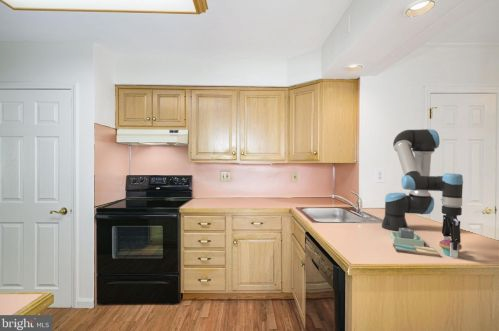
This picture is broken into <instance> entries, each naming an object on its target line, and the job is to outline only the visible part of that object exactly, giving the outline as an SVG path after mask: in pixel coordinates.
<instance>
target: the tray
mask: <svg viewBox="0 0 499 331" xmlns="http://www.w3.org/2000/svg"><path fill="white" fill-rule="evenodd" d="M389 233H390V234H389V236H390V239H391V240H392V243H395V244H404V245H414V246H423V247H425V241H424V240H423V238H421V236H420V235H419V234H418V233H414V239H405V238H399V231H394V230H390V231H389Z"/></svg>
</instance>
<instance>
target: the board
mask: <svg viewBox="0 0 499 331" xmlns="http://www.w3.org/2000/svg"><path fill="white" fill-rule="evenodd" d="M392 247H393V249H394V250H395V252H396V253H401V254H402V253H403V254H412V255H419V256H426V257H428V256H429V257H433V258H434V257H435V258H441V254H440V253H439V252H438V251H437V250H436V249H435V248H434V247H429V246H424V247H423V246H414V245H404V244H395V243H394V242H392Z"/></svg>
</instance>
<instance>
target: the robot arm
mask: <svg viewBox="0 0 499 331" xmlns="http://www.w3.org/2000/svg"><path fill="white" fill-rule="evenodd" d="M440 141H441V140H440V136H439V133H438V132H437V131H436V130H435V129H429V128H426V129H424V128H423V129H405V130H402V131H400V132H399V133H398V134H397V135H396V136H395V137H394V140H393V143H392V146H393V149H394V151H395V152H396V154H397V156H398V160H399V162H400V165H401V169H402V172H403V176H401V180H400V181H401V183H400V184H401V187H402V189H403V190H409V192H408V194H406V192H390V193H387V194H385V199H384V202H385V203H384V217H383V219H382V222H381V227H382V229H385V230H388V231H389V230H390V231H393V232H399V228H408V229H409V227H408V226H409V225H408V223H407V220H406V214H416V215H429V214H431V213H432V212H433V210H434V207H435V199H434V197H433V196H432V194H431V193H430V192H429V191H431V192H432V191H433V192H441V196H442V197H441V198H440V201H441V204H442V206H441V213H442V214H443V215H442V218H443V219H442V226H441V227H442V228H441V234H442V235H443V236H442V237H443V239H442V240H447V239H450V240H451V241H450V256H449V257H453V258H454V257H455V258H458V257H459V251H458V243H460V244H461V242H462V240H461V220H459V219H458V216H462V212H463V208H462V207H463V188H464V187H463V186H464V185H463V184H464V178H463V175H462V174H461V173H444V174H442V175H437V176H436V175H435V176H434V175H433V176H432V175H430V173H431V163H432V162H431V161H432V154H434V153H435V149H438V148H439V147H440Z"/></svg>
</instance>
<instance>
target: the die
mask: <svg viewBox="0 0 499 331" xmlns="http://www.w3.org/2000/svg"><path fill="white" fill-rule="evenodd" d="M398 232H399V238H405V239H414V234H415V232H414V230H413V229H412V228H409V227H408V228H399V231H398Z"/></svg>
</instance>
